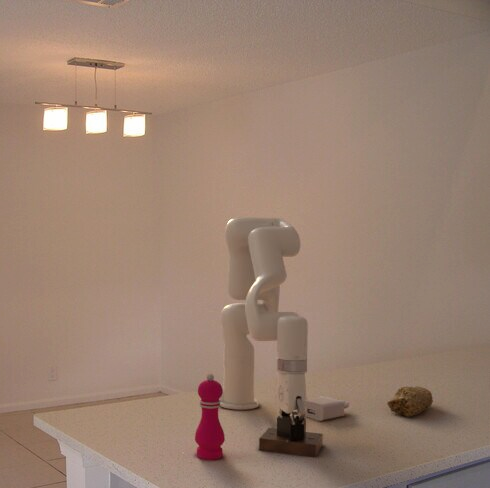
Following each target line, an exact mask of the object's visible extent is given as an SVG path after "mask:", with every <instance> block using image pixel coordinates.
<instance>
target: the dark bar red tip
mask: <svg viewBox="0 0 490 488" xmlns="http://www.w3.org/2000/svg"><path fill="white" fill-rule="evenodd" d="M294 417H295V418H296V416H294ZM290 424H292V421H291V417H288V416H280V415H278V416H277V417H276V429H277V435H279V436H288V437H290ZM306 432H307V417H306V416H305V417H304V425H303V438H305V437H306Z"/></svg>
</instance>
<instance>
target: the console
mask: <svg viewBox="0 0 490 488" xmlns="http://www.w3.org/2000/svg"><path fill="white" fill-rule="evenodd" d="M323 435H324V434H323V433H319V432H310V431H306V437H305V438H303V440H299V441H291V440H290V437H288V436H279V435H277V427H268V428H267V429H266V430H265V431H264V432H263V434H261V435H260V436H259V438H258V450H259V451H263V452H264V451H265V452H272V453H280V454H281V453H282V454H287V455H288V454H289V455H296V456H305V457H313V458H316V457H317V455H318V454H319V452H320V450H321V448H322V447H323V440H324V439H323V437H324V436H323Z"/></svg>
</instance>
